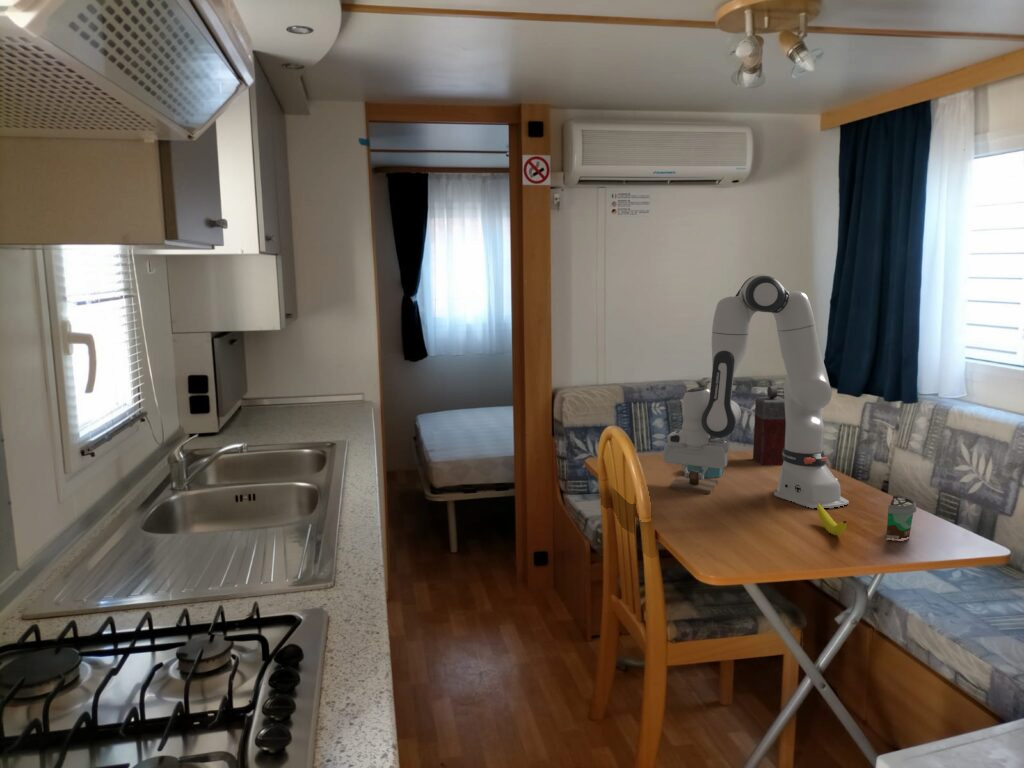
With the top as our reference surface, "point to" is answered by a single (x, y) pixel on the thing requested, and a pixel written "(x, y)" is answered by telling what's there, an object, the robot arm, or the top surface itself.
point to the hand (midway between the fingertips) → (694, 478)
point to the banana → (830, 522)
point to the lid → (694, 483)
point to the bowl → (709, 473)
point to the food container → (900, 516)
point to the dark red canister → (769, 429)
